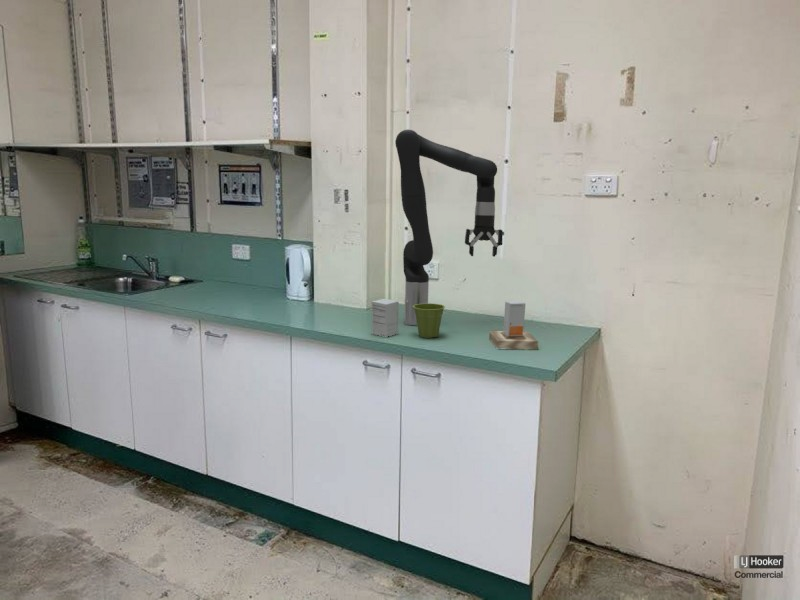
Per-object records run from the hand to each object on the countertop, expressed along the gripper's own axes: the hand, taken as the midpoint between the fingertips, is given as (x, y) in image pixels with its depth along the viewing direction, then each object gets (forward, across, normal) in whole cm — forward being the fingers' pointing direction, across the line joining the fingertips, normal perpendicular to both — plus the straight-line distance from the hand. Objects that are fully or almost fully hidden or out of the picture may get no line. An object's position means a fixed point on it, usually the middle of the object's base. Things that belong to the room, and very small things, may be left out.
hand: (482, 256), depth 226 cm
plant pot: (+28, -22, -15) cm, 39 cm away
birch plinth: (+28, +7, -26) cm, 39 cm away
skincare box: (+25, +7, -26) cm, 37 cm away
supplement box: (+28, -38, -13) cm, 49 cm away
